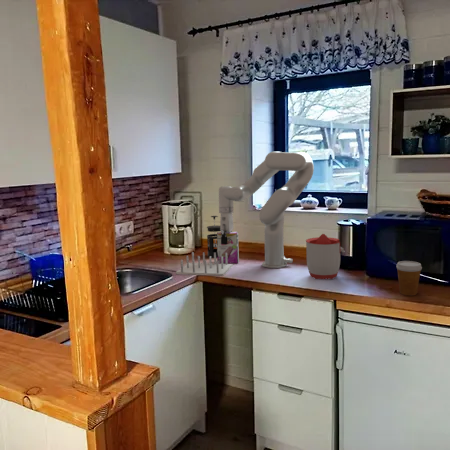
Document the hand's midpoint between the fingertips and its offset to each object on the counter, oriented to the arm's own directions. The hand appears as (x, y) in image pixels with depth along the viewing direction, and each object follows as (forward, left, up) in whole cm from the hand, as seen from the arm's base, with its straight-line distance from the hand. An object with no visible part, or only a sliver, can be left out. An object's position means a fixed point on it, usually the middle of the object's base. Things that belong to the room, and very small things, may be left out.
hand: (226, 242), depth 241 cm
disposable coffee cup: (-85, +41, -11) cm, 95 cm away
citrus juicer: (-52, +21, -11) cm, 57 cm away
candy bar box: (-1, 0, -11) cm, 11 cm away
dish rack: (+7, +16, -11) cm, 21 cm away
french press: (+10, -14, -11) cm, 21 cm away
